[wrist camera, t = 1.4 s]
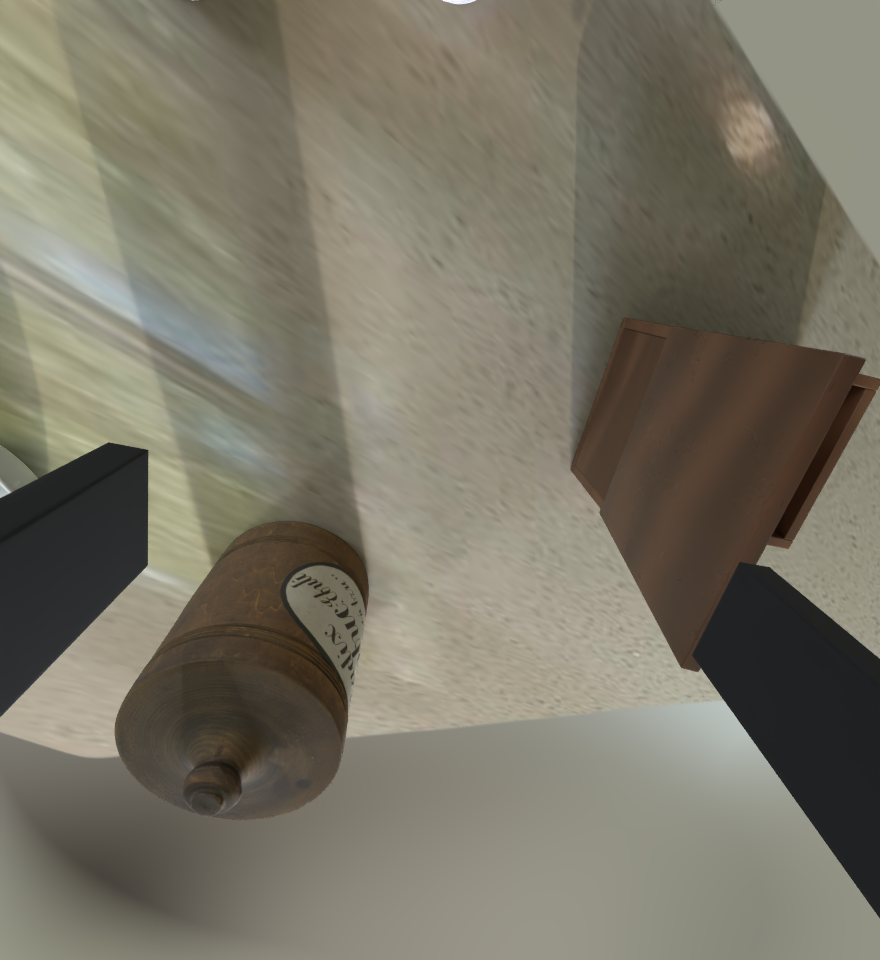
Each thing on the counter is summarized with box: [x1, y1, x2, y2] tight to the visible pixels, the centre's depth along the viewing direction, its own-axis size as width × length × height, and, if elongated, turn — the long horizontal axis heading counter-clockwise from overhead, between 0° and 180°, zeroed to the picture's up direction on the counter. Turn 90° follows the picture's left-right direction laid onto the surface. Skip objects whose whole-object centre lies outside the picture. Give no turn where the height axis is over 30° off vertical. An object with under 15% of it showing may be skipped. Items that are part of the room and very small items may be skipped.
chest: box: [571, 318, 880, 549], centre depth 40 cm, size 16×14×9 cm
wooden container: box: [115, 522, 369, 820], centre depth 39 cm, size 15×15×22 cm
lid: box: [599, 326, 866, 672], centre depth 27 cm, size 16×14×1 cm
